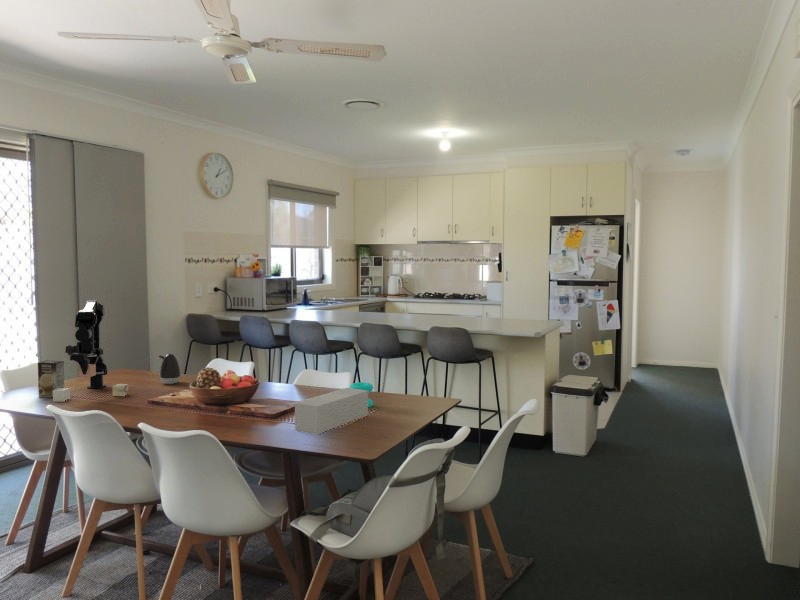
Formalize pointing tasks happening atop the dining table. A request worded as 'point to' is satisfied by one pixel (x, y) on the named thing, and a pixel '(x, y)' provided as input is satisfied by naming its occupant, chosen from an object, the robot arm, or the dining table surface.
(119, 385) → the maple block
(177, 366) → the pump dispenser
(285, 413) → the dining table surface
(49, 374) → the coffee box
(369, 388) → the donuts
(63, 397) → the offwhite block
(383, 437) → the dining table surface
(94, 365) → the terracotta block
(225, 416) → the dining table surface
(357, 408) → the stack of papers
